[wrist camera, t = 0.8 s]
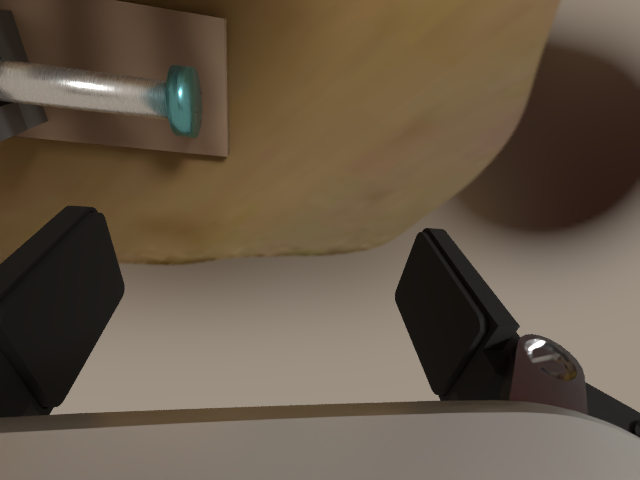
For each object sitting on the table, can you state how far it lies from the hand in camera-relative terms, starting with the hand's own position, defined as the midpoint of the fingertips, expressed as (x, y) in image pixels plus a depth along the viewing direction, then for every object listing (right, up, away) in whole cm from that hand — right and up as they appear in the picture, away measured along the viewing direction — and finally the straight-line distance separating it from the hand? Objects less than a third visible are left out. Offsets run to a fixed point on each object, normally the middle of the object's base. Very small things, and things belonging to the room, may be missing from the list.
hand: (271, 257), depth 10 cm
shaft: (-17, +12, +11) cm, 24 cm away
